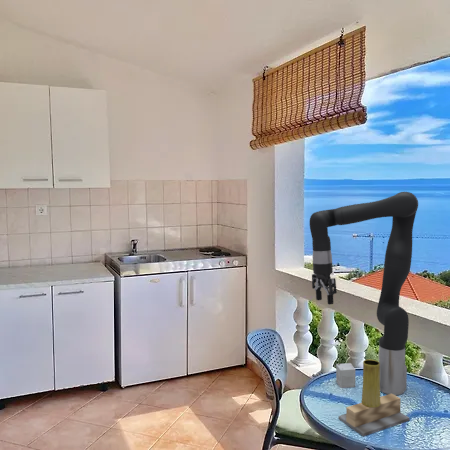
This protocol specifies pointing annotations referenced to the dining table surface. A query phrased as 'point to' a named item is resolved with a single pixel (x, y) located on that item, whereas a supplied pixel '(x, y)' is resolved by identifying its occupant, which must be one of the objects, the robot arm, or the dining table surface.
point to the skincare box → (345, 375)
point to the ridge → (374, 415)
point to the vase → (371, 383)
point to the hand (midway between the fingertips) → (324, 302)
